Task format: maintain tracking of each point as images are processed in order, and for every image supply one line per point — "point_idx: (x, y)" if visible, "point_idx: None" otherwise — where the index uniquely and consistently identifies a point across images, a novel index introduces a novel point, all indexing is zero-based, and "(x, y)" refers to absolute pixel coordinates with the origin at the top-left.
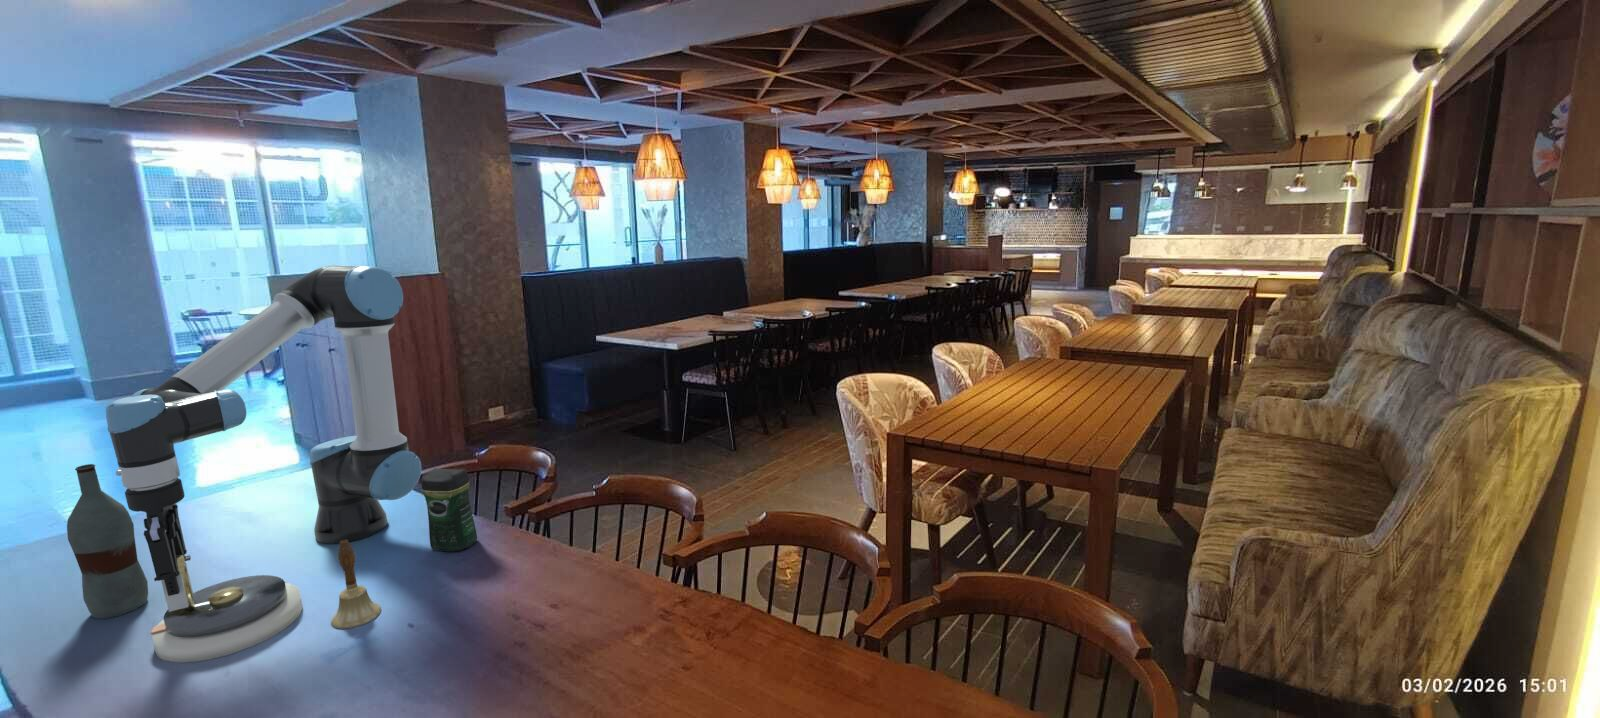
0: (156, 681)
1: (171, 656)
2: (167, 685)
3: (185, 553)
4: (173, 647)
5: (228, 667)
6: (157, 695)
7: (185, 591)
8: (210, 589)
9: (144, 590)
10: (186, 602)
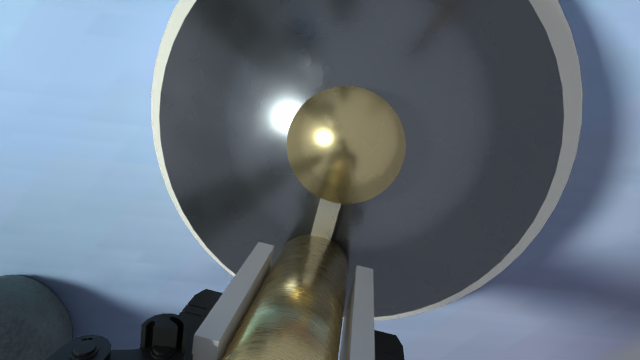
0: (529, 308)
1: None
2: (579, 293)
3: (105, 344)
4: (476, 288)
5: (631, 168)
6: (614, 315)
7: (358, 301)
8: (201, 178)
9: (4, 297)
10: (372, 281)
